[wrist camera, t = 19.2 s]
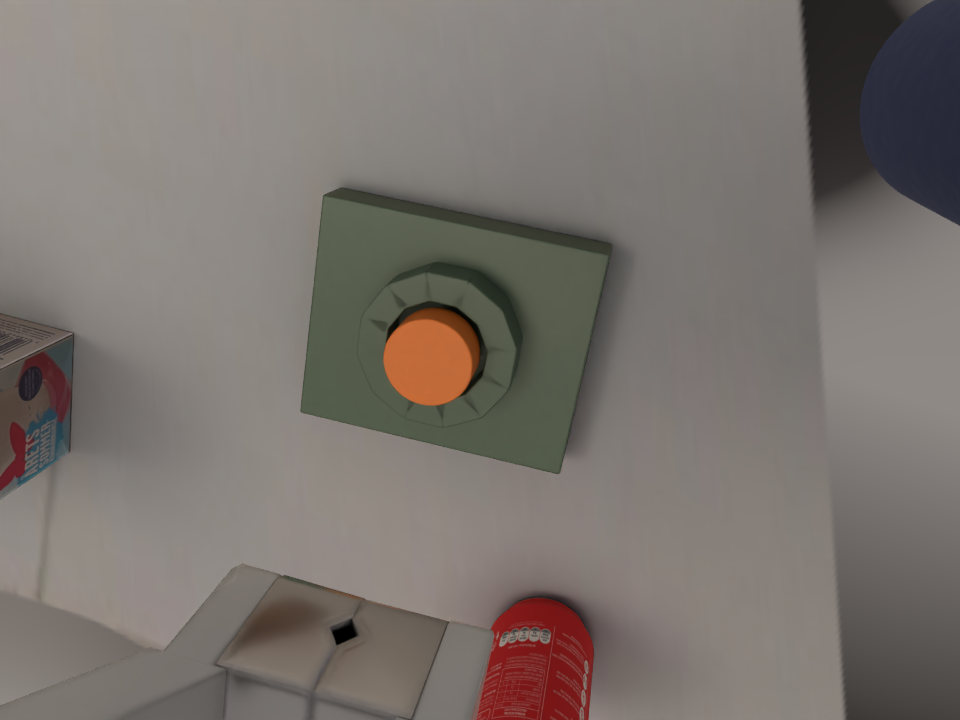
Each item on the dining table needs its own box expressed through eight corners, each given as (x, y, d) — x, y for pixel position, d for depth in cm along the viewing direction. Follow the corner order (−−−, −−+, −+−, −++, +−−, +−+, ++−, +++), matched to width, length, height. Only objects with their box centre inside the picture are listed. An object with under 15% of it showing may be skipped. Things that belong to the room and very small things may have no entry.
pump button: (487, 317, 34) (480, 330, 33) (472, 399, 36) (464, 415, 34) (401, 298, 35) (389, 310, 33) (389, 379, 36) (377, 394, 34)
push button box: (612, 243, 36) (608, 265, 32) (564, 453, 40) (555, 494, 36) (340, 186, 37) (306, 201, 34) (316, 395, 41) (283, 428, 37)
